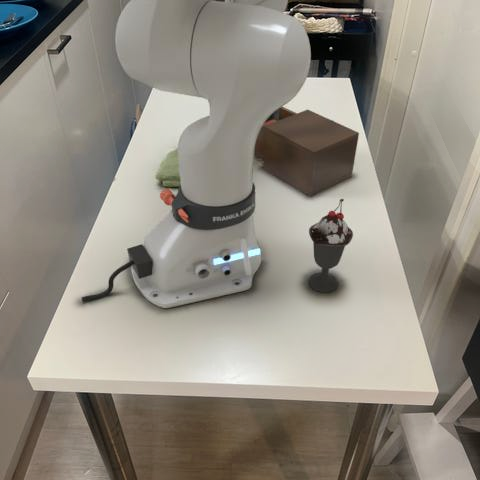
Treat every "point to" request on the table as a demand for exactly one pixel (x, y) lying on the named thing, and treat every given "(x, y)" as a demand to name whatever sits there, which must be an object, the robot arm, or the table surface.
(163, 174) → the washcloth
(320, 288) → the sundae
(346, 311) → the table surface
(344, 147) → the cabinet
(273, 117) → the drawer
